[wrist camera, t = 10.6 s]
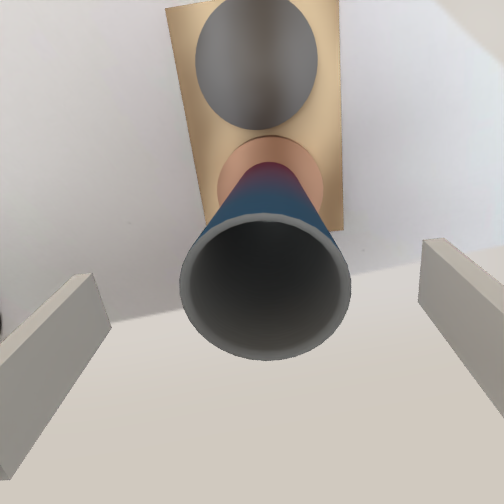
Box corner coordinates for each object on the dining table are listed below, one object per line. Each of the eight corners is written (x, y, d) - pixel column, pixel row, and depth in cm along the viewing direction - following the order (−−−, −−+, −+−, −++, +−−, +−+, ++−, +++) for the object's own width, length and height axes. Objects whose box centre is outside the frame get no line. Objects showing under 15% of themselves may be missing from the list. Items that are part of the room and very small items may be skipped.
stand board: (211, 238, 32) (205, 252, 30) (168, 11, 25) (156, 1, 22) (341, 226, 31) (348, 238, 28) (335, -17, 24) (343, -32, 21)
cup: (228, 234, 29) (188, 359, 15) (223, 150, 26) (168, 213, 12) (310, 233, 28) (344, 362, 15) (314, 148, 26) (360, 211, 12)
